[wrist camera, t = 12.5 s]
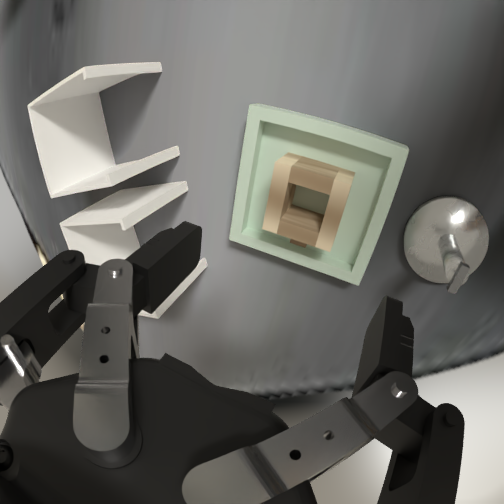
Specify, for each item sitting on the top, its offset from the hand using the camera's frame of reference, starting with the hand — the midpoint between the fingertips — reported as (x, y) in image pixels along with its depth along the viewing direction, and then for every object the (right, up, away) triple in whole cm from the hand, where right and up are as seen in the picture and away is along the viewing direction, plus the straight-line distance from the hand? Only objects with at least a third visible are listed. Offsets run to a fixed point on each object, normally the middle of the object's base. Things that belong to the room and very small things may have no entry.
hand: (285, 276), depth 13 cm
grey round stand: (+17, +2, +14) cm, 22 cm away
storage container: (-14, +11, +24) cm, 30 cm away
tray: (+5, +7, +17) cm, 19 cm away
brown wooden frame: (+4, +6, +17) cm, 18 cm away
